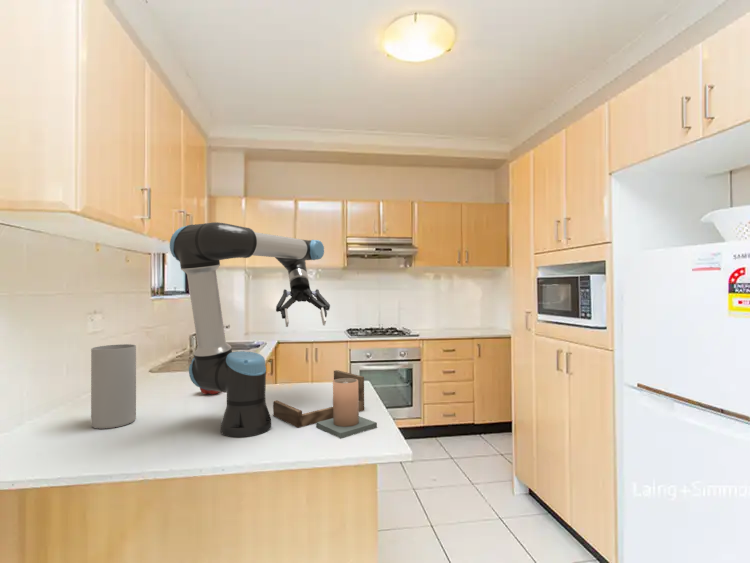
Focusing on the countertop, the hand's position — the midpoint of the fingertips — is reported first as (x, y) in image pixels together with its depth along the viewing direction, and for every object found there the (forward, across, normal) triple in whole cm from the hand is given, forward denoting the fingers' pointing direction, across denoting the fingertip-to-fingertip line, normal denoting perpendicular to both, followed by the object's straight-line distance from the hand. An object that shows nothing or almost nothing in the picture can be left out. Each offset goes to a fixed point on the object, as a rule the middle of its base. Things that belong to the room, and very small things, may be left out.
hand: (306, 323), depth 152 cm
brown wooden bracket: (+26, -3, -17) cm, 32 cm away
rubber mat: (+39, -8, -4) cm, 40 cm away
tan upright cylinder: (+38, -8, -3) cm, 39 cm away
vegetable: (-3, +34, -47) cm, 58 cm away
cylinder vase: (+18, +62, -26) cm, 70 cm away
